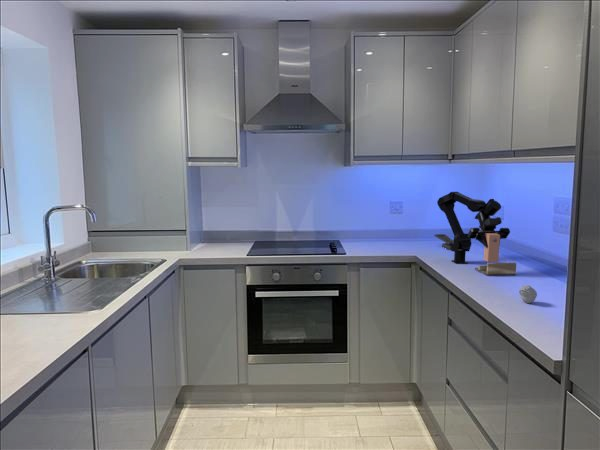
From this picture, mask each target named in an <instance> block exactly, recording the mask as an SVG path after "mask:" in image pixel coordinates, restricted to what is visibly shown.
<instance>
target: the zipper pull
mask: <svg viewBox="0 0 600 450" xmlns="http://www.w3.org/2000/svg"><path fill="white" fill-rule="evenodd" d="M434 237H436V238H437V239H439V240H441V241H442V242H444V243H442V244H441V247H442V248H443V247H444V248H443V249H445V248H446V249H445V250H446V251H451V248H450V247H451V246H452V245H453V244H454V241H453V240H454V239H452V238H451V237H449V236H448V235H447V234H445V233H443V234H441V233H439V234H434Z"/></svg>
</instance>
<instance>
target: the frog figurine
mask: <svg viewBox="0 0 600 450" xmlns="http://www.w3.org/2000/svg"><path fill="white" fill-rule="evenodd" d="M518 293H519V296H520V298H521V300H522V301H523V302H524V303H526V304H532V303H534V301H536V298H537V297H538V293H537V291H536V289H535V288H533V287H532V286H531V285H528V284H526V285H522V286H521V288H520V289H519V291H518Z"/></svg>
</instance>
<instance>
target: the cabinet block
mask: <svg viewBox="0 0 600 450" xmlns="http://www.w3.org/2000/svg"><path fill="white" fill-rule="evenodd" d="M485 238H486V241H487V244H488V248H486V247H485V246H484V249H483V250H484V253H483V260H484V261H486V262H487V263H499V259H500V257H499V256H500V246H499V245H501V239H500V235H499V234H496V233H485Z"/></svg>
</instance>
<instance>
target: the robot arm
mask: <svg viewBox="0 0 600 450" xmlns="http://www.w3.org/2000/svg"><path fill="white" fill-rule="evenodd" d="M456 202H458V203H460V204H462V205H463V206H466V207H467V209H468V210H469V211H470V212H472V213H477V214H476V215H475V216H474V220H478V224H479V226H478V227H470V229H469V231H468V233H465V232H464V231H463V228H462V226H461V224H460V221H459V219H458V216H457V214H456V212H455V204H456ZM437 206H438V208H439V209H440V210H441V212H443V213H444V215H445V217H446V220H447V222H448V224H449V226H450V228H451V231H452V234H453V239H452V240H453V241H454V244H453V245H452V246H451V247H450V248H451V250H450V251H451V252H454V255H453V258H454V259H452V260H451V262H453V263H455V264H468V262H467V261H466V252H470V249H471V246H472V239H475V240H476V241H478V242H480V243H481V244H482V245H483V246H484V248H485V247H486V248H488V244H487V241H486V238H485V233H496V234H499V235H500V240H502V239H503V240H504V239H507V238H508V236H509V234H510V233H511V230H510V228H509V227H500V228H499V230H496V229H497V226H499V225H501V224H502V223H503V221H502V218H501V217H499V216H497V217H494V216H495V215H496V214H497V213H498V212H499V211H500V210H501V209H502V205H501V203H500V202H498V201H497V200H495V199H494V198H490V199H489V200H488V201H487V202H486V201H484V200H482V199H481V200H480V199H475V198H472V197H469V196H468V195H465V194H462V193H461V192H459V191H450V192H449V193H447V194H445V195H443V196H441V197H439V198H438V199H437ZM500 245H501V244H500ZM500 245H499V247H500Z"/></svg>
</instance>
